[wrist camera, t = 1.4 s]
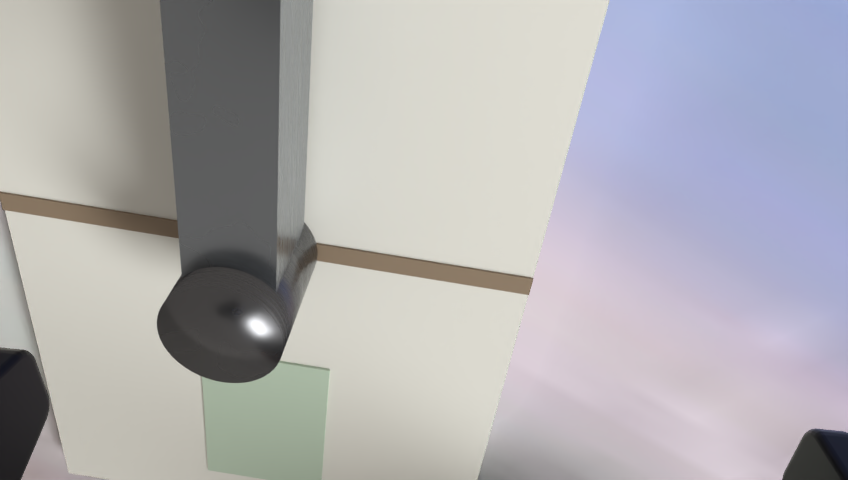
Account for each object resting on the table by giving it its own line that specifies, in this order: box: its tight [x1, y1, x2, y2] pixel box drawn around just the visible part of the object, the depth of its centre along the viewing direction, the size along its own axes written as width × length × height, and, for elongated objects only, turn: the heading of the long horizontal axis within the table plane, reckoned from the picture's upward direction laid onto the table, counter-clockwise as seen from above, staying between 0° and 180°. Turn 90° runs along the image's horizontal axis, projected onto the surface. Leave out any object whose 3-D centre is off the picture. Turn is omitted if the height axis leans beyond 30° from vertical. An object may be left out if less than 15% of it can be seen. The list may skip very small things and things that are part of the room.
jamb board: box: [0, 0, 609, 480], centre depth 22 cm, size 16×26×1 cm, turn 173°
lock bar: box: [157, 0, 318, 383], centre depth 17 cm, size 13×3×4 cm, turn 173°
